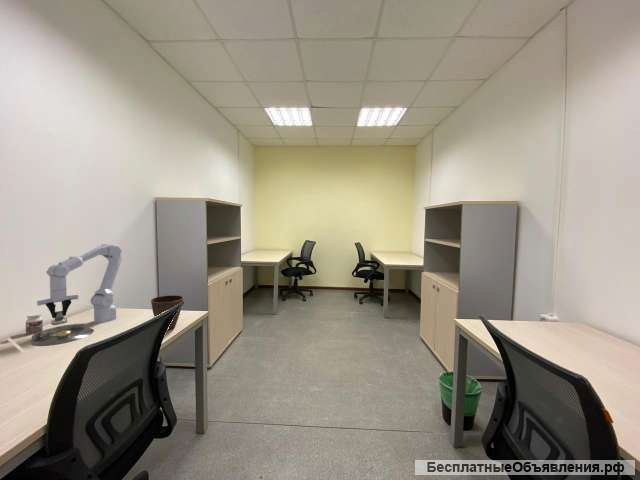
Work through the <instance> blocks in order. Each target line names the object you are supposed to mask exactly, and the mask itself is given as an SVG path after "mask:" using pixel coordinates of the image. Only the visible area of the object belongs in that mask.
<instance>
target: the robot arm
mask: <svg viewBox="0 0 640 480" xmlns="http://www.w3.org/2000/svg"><path fill="white" fill-rule="evenodd" d="M122 251H123V249H121V247H120V246H119V245H118V244H105V243H104V244H100V245H97V246H96V247H94V248H92V249H90V250H89V251H87V252H85V253H83V254H82V255H80V256H76V255H74V256H72V255H71V256H69V257H68V258H67V259H65V260H63V261H59V262H58V264H52V265H51V266H49V268H48V269H47V270H46V274H47V275H48V277H49V297H50V298H45V299H41V300H37V301H36V305H37V306H43V305H45V306H46V307H47V310H49V312H50V314H51V318H52V319H55V312H56V304H55V303H59V302H61V308H62V310H61V311H63V312H64V317H66V316H67V312H68V309H69V307H70V305H71V304H72V300H79V295H78V294H73V295H67V276H68V274H69V273H70V272H71V271H73V270H76V269H78V268H80V267H82V266H83V264H84V262H87V261H88V260H91V259H93V258H96V257H99V256H101V257H102V256H103V257H104V258H105V259H106V260H107V262H108V263H107V267H106V269H105V272H104V275H103V277H102V279H101V280H102V281H101V284H100V286H99V288H98V289H97V290H96V291H95V292H94V294H93V296H92V297H91V298H90V304H91V305H93V324H94V323H95V324H103V323H107V322H110V321H114V320H117V308H116V306H115V304H113V303H114V292H113V287H114V283H115V280H116V277H117V276H118V275H117V274H118V272H119V269H120V266H121V263H122Z"/></svg>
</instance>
